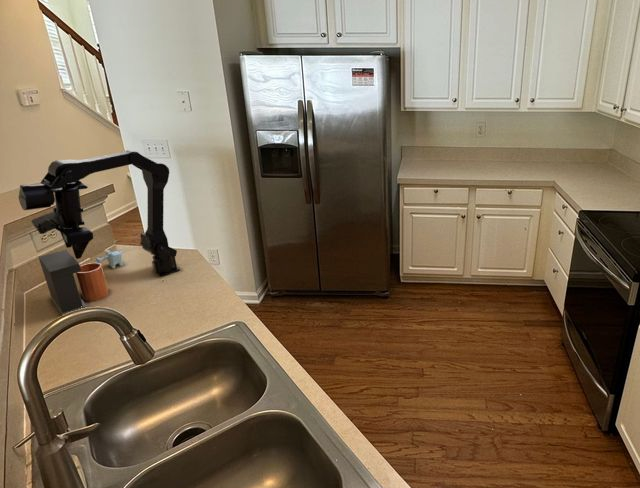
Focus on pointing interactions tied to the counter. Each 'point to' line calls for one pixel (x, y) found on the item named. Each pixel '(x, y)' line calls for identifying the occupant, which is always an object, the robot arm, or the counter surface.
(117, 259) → the figurine
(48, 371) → the counter surface
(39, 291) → the counter surface
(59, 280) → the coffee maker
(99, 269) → the cup
